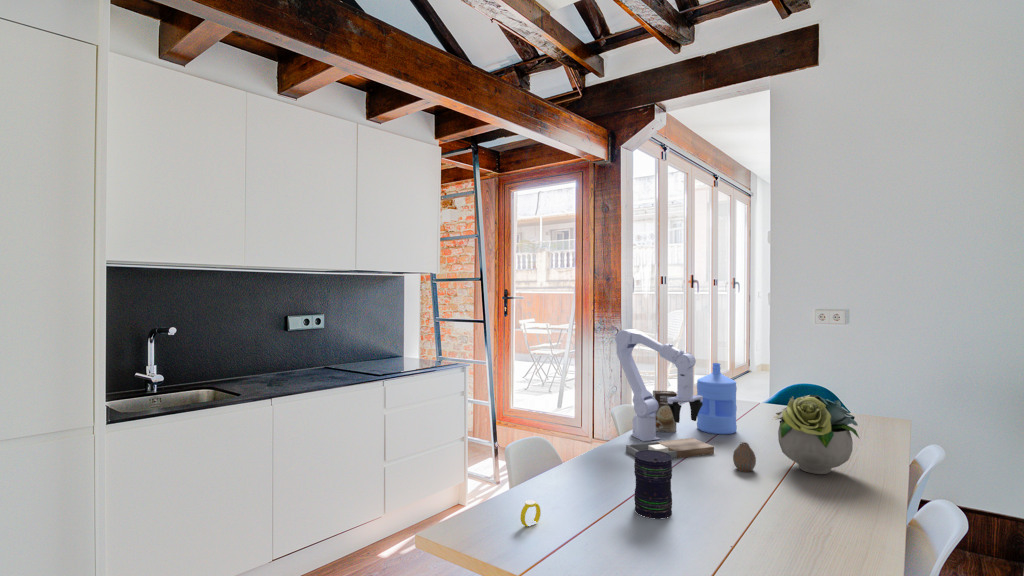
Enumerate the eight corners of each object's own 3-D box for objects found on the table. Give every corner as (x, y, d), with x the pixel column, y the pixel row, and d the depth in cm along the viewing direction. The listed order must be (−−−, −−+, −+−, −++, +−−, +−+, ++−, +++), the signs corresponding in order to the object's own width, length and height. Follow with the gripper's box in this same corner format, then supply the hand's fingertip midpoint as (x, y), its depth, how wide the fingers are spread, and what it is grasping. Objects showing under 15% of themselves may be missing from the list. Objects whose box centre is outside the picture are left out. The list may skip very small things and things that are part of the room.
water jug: (702, 423, 232) (702, 360, 232) (740, 428, 223) (740, 363, 223) (692, 431, 220) (692, 364, 220) (731, 437, 210) (731, 367, 211)
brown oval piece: (758, 469, 173) (758, 443, 173) (751, 475, 168) (751, 447, 168) (737, 464, 178) (737, 438, 178) (729, 470, 172) (729, 443, 173)
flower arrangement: (777, 453, 189) (777, 386, 189) (861, 467, 175) (861, 394, 175) (765, 473, 169) (765, 397, 169) (858, 490, 154) (857, 408, 154)
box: (626, 451, 191) (626, 445, 191) (656, 448, 196) (656, 441, 196) (644, 462, 180) (644, 455, 180) (676, 458, 184) (676, 451, 184)
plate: (656, 448, 196) (656, 441, 196) (692, 444, 201) (692, 437, 201) (676, 458, 184) (676, 451, 184) (713, 453, 189) (713, 446, 189)
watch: (526, 531, 130) (525, 508, 129) (518, 528, 132) (517, 504, 131) (543, 522, 134) (542, 499, 133) (535, 519, 136) (534, 496, 135)
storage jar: (631, 503, 146) (631, 449, 146) (666, 503, 145) (666, 450, 145) (638, 519, 136) (638, 461, 136) (676, 519, 135) (676, 461, 135)
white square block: (648, 452, 190) (648, 445, 190) (659, 450, 191) (659, 444, 191) (657, 456, 185) (656, 449, 185) (668, 454, 187) (668, 447, 187)
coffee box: (654, 431, 219) (654, 393, 219) (651, 427, 225) (651, 390, 225) (677, 432, 218) (677, 393, 218) (673, 428, 224) (673, 390, 224)
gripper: (675, 388, 192) (675, 425, 192) (708, 386, 197) (708, 422, 197) (664, 385, 199) (664, 420, 199) (695, 382, 204) (696, 417, 204)
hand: (685, 421), depth 199 cm, fingers open, 7 cm apart
